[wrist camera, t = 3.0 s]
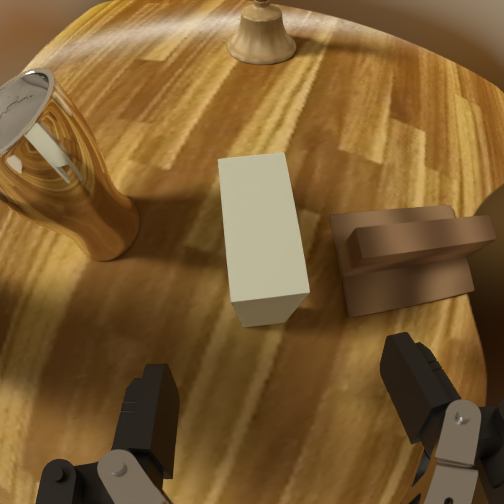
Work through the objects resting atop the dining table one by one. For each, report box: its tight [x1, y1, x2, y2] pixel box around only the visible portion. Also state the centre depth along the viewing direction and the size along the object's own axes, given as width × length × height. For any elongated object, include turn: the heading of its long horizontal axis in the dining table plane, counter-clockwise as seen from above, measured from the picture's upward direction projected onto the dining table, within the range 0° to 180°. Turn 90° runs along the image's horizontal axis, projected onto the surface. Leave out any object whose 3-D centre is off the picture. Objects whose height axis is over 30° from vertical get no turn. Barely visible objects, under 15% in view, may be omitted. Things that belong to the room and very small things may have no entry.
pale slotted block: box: [218, 153, 310, 328], centre depth 18 cm, size 6×3×11 cm, turn 7°
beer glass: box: [0, 68, 140, 261], centre depth 18 cm, size 7×7×15 cm
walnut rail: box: [329, 205, 496, 318], centre depth 21 cm, size 12×8×5 cm, turn 97°
